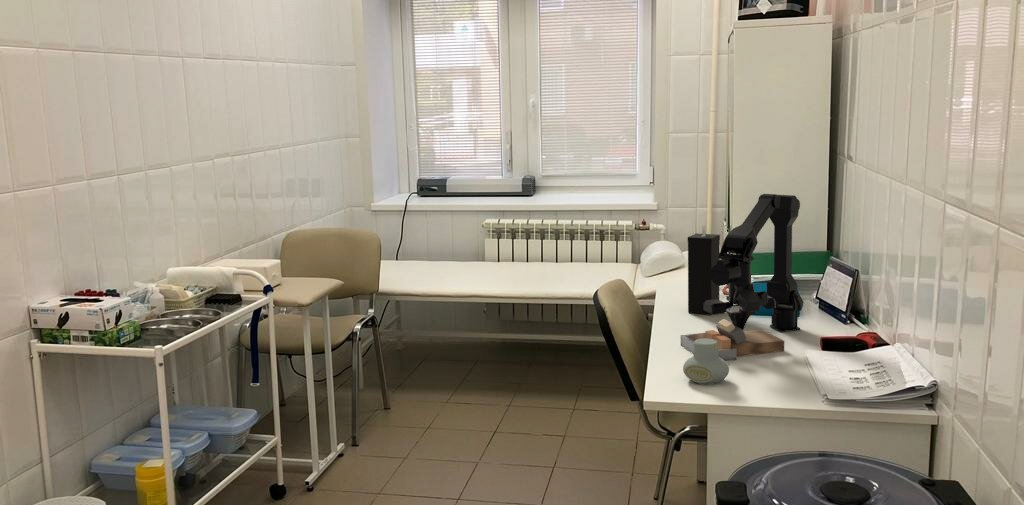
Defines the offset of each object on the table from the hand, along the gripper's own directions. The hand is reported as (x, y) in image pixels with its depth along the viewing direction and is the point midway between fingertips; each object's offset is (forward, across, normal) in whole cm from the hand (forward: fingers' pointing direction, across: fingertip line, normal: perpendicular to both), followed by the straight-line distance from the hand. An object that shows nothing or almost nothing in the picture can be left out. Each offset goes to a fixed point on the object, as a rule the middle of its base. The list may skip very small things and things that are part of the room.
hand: (739, 335), depth 233 cm
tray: (+4, -9, 0) cm, 10 cm away
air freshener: (+4, -20, -21) cm, 29 cm away
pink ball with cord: (+5, +25, +60) cm, 65 cm away
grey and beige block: (0, -2, 0) cm, 2 cm away
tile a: (+1, -5, +3) cm, 6 cm away
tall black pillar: (+4, +9, +41) cm, 42 cm away
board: (+4, +3, 0) cm, 5 cm away
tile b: (+1, -5, -3) cm, 6 cm away
